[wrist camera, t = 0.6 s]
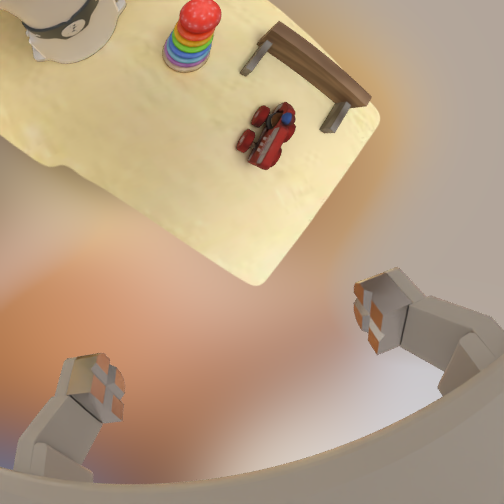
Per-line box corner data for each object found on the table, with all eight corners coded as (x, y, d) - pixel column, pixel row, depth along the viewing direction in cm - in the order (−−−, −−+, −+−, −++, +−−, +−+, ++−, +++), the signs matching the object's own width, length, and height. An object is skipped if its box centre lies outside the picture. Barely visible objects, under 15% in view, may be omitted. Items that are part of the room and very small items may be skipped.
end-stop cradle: (326, 135, 53) (349, 135, 46) (236, 71, 45) (249, 58, 37) (347, 100, 52) (371, 96, 44) (263, 36, 43) (279, 20, 36)
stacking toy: (174, 80, 42) (180, 45, 25) (155, 45, 39) (153, -4, 22) (216, 62, 43) (244, 21, 26) (197, 27, 40) (216, -25, 23)
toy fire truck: (294, 117, 50) (322, 113, 41) (262, 174, 52) (284, 180, 43) (263, 97, 48) (286, 87, 38) (229, 155, 50) (244, 157, 40)
